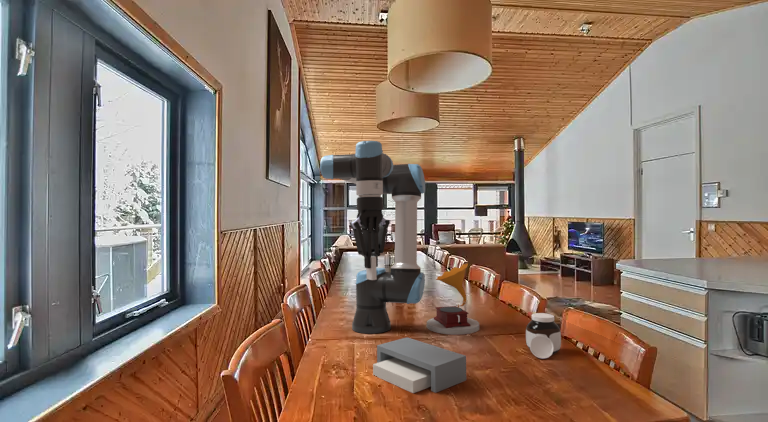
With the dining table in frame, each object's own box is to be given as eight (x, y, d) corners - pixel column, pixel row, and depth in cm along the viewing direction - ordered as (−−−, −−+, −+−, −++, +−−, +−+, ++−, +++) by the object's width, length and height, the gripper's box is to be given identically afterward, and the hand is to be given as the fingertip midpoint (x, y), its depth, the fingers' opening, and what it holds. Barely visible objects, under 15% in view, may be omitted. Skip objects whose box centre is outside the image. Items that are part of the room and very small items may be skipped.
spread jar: (551, 347, 139) (550, 311, 139) (571, 358, 128) (571, 320, 128) (517, 349, 137) (516, 313, 137) (535, 361, 126) (535, 322, 126)
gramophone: (466, 319, 177) (465, 260, 177) (488, 332, 157) (487, 265, 157) (420, 322, 173) (419, 262, 173) (436, 336, 153) (435, 267, 153)
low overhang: (377, 367, 122) (376, 345, 122) (407, 358, 129) (407, 337, 129) (435, 392, 104) (435, 366, 104) (466, 380, 112) (466, 355, 112)
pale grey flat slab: (373, 375, 116) (373, 364, 116) (399, 366, 122) (399, 356, 123) (413, 393, 104) (413, 381, 104) (440, 382, 110) (440, 371, 110)
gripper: (359, 196, 112) (361, 284, 112) (395, 195, 120) (397, 277, 120) (343, 196, 117) (345, 280, 118) (379, 196, 126) (380, 274, 126)
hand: (371, 279), depth 119 cm, fingers closed
